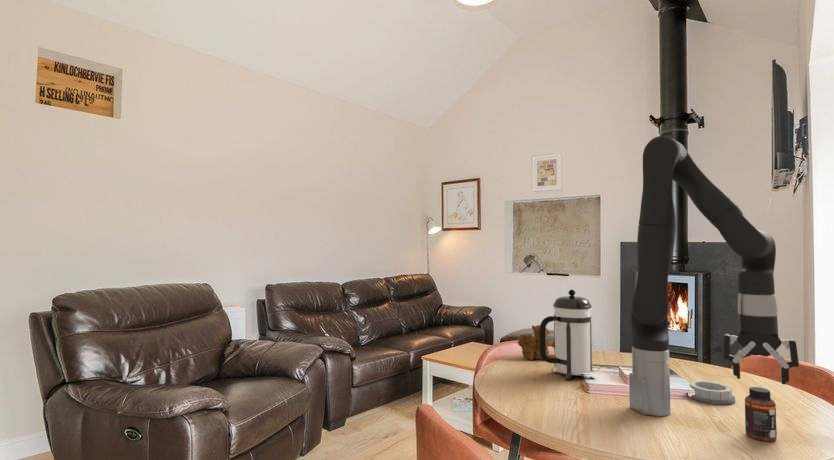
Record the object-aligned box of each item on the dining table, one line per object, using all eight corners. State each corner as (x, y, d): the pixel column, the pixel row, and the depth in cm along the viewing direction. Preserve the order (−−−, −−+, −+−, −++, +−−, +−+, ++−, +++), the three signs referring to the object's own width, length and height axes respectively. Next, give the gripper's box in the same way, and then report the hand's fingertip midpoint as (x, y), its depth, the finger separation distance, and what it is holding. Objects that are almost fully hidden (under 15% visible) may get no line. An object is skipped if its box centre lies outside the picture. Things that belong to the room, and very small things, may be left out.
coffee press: (556, 366, 169) (555, 286, 170) (600, 373, 160) (599, 289, 161) (539, 378, 155) (538, 290, 156) (587, 386, 146) (585, 293, 147)
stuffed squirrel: (558, 360, 179) (558, 326, 179) (526, 363, 175) (526, 328, 176) (545, 354, 189) (544, 322, 189) (514, 356, 185) (514, 324, 185)
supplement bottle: (782, 443, 104) (781, 394, 104) (753, 441, 105) (752, 392, 106) (768, 433, 110) (766, 386, 110) (740, 431, 111) (739, 384, 111)
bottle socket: (708, 406, 128) (708, 393, 128) (678, 392, 140) (677, 381, 140) (745, 403, 130) (745, 391, 130) (712, 390, 142) (712, 378, 142)
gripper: (721, 312, 110) (724, 380, 109) (797, 316, 101) (801, 390, 101) (721, 308, 116) (725, 372, 115) (794, 312, 107) (797, 381, 107)
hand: (760, 380), depth 108 cm, fingers open, 8 cm apart
